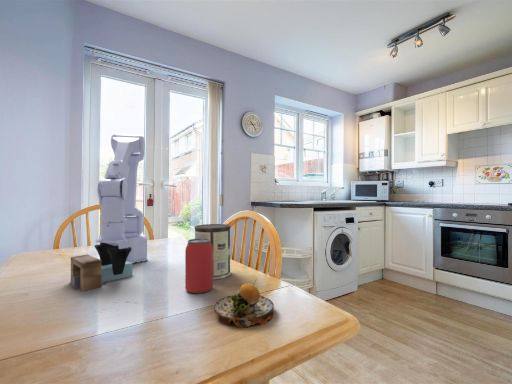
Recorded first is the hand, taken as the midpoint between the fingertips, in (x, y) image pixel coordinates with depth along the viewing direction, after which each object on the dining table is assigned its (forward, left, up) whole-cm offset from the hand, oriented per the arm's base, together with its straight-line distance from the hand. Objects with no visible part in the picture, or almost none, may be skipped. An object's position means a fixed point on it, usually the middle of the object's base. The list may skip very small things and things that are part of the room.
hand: (112, 271), depth 73 cm
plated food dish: (-9, +42, -2) cm, 43 cm away
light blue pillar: (+1, 0, -2) cm, 2 cm away
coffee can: (-21, +18, -2) cm, 27 cm away
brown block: (+6, 0, -2) cm, 7 cm away
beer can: (-11, +25, -2) cm, 27 cm away
